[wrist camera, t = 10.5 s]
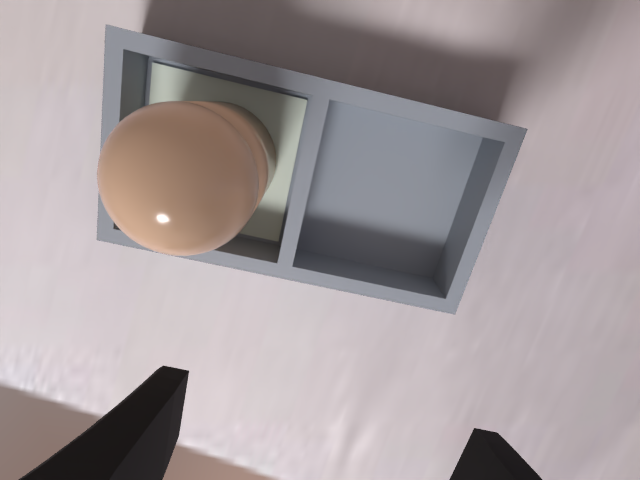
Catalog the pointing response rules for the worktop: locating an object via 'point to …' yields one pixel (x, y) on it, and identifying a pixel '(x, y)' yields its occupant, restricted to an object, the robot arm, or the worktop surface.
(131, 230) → the tan capsule
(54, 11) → the worktop surface
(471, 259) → the divided tray
